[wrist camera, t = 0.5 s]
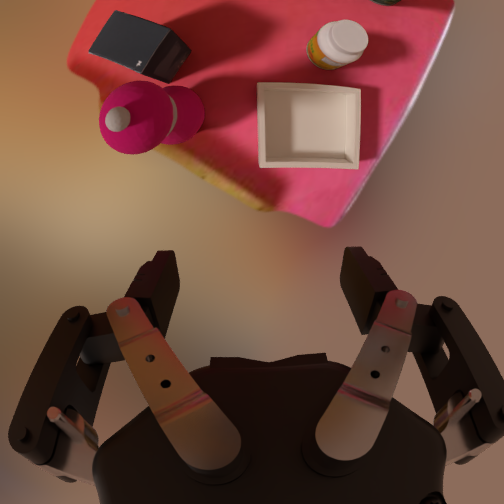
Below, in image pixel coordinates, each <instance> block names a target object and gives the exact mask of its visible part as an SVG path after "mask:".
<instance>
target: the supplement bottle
mask: <svg viewBox="0 0 504 504" xmlns="http://www.w3.org/2000/svg"><path fill="white" fill-rule="evenodd" d="M367 45H368V35H367V33H366V31H365V30H364V28H363V27H362V26H361V25H359V24H358V23H356V22H354V21H351V20H340V21H335V22H330V23H327V24H325V25H324V26H323V27H322V28H321V29H320V30H319V31H318V32H317V33H316V34H315V35H314V36H313V37H312V38H311V39H310V41H309V42H308V44H307V48H306V51H307V55H308V58H309V59H310V61H311V62H312V63H313V64H314V65H316V66H317V67H319V68H321V69H325V70H334V69H337V68H340V67H342V66H344V65H347V64H349V63H351V62H354V61H356V60H357V59H359V58H360V57H361V55H362V54H363V51H364V49H365V48H366V47H367Z"/></svg>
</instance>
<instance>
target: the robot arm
mask: <svg viewBox="0 0 504 504" xmlns="http://www.w3.org/2000/svg"><path fill="white" fill-rule="evenodd" d="M340 284H341V288H342V290H343V292H344V295H345V297H346V299H347V301H348V304H349V306H350V308H351V311H352V313H353V315H354V317H355V320H356V322H357V325H358V327H359V329H360V332H361V334H362V335H365V334H368V336H367V338H366V340H365V342H364V344H363V346H362V348H361V350H360V353H359V355H358V357H357V358H356V361H355V362H354V364H353V366H352V368H350V367H348V366H345V365H343V364H340V363H337V362H332V361H328V360H327V356H326V353H317V354H305V355H297V356H293V357H289V358H285V359H282V360H278V361H274V362H262V361H257V360H251V359H246V358H240V357H211V360H210V365H209V366H205V367H201V368H199V369H196V370H193V371H191V372H190V373H188V371H187V370H186V369H185V367H184V366H183V365H182V363H181V362H180V361H179V359H178V358H177V356H176V355H175V353H174V352H173V351H172V349H171V348H170V346H169V345H168V343H167V342H166V340H165V336H166V333H167V329H168V326H169V322H170V319H171V315H172V312H173V309H174V306H175V303H176V299H177V296H178V293H179V289H180V279H179V274H178V268H177V264H176V257H175V253H174V251H173V250H168V251H157V253H156V255H155V256H154V258H153V260H152V261H148V262H146V263H145V264H144V265H143V266H141V268H140V269H139V271H138V272H137V275H136V276H135V278H134V281H132V283H131V285H130V287H129V289H128V291H127V292H126V294H125V296H124V298H120V299H117V300H115V301H113V302H112V303H111V304H110V305H109V306H108V308H107V310H106V312H104V313H99V314H94V315H90V314H89V311H88V309H87V308H86V307H84V306H75V307H72V308H70V309H68V310H67V311H65V313H63V314H62V316H61V318H60V319H59V321H58V323H57V325H56V326H55V328H54V330H53V332H52V334H51V335H50V337H49V339H48V341H47V343H46V345H45V347H44V349H43V351H42V353H41V354H40V356H39V358H38V361H37V363H36V365H35V367H34V369H33V371H32V373H31V375H30V377H29V380H28V382H27V384H26V386H25V389H24V391H23V393H22V396H21V398H20V401H19V403H18V406H17V409H16V411H15V414H14V416H13V419H12V422H11V425H10V428H9V433H8V438H9V442H10V445H11V446H12V448H13V449H14V450H15V451H16V452H18V453H19V454H21V455H22V456H24V457H25V458H27V459H28V460H29V461H30V462H31V463H32V464H34V465H36V466H37V467H39V468H40V469H42V470H44V471H45V472H47V473H49V474H51V475H53V476H56V477H58V478H59V479H61V480H63V481H65V482H75V481H77V480H78V481H81V482H84V483H88V484H91V485H94V486H96V489H97V492H98V496H99V500H100V504H447V503H446V502H445V499H444V496H443V475H444V469H445V466H446V465H449V464H451V463H456V464H459V465H460V464H465V463H467V462H469V461H470V460H472V459H473V458H475V457H476V456H478V455H479V454H480V453H482V452H483V451H485V450H486V449H487V448H489V447H490V446H491V445H493V444H494V443H495V442H497V441H498V440H499V439H500V438H502V437H503V436H504V380H503V378H502V376H501V374H500V372H499V370H498V368H497V366H496V365H495V363H494V361H493V359H492V357H491V356H490V354H489V352H488V351H487V349H486V347H485V345H484V344H483V342H482V340H481V339H480V337H479V335H478V334H477V332H476V331H475V329H474V328H473V326H472V325H471V323H470V321H469V320H468V318H467V317H466V315H465V314H464V312H463V311H462V310H461V308H460V307H459V305H458V304H457V303H456V302H455V301H454V300H452V299H450V298H448V297H445V296H439V297H436V298H435V299H434V301H433V304H432V306H431V305H423V304H417V301H416V299H415V298H414V297H413V296H412V295H411V294H410V293H408V292H406V291H402V290H398V289H397V287H396V286H395V284H394V283H393V281H392V280H391V278H390V277H389V275H387V273H386V271H385V270H384V269H383V267H382V265H381V264H380V262H378V261H377V260H375V259H374V258H373V257H371V256H368V255H367V254H366V252H365V251H364V249H363V248H362V247H346V248H345V250H344V256H343V262H342V267H341V273H340ZM444 342H445V344H446V346H447V347H448V349H449V352H450V358H449V360H448V358H447V356H446V354H445V352H444V350H443V348H442V346H443V344H444ZM407 352H413V355H414V357H415V359H416V362H417V364H418V367H419V369H420V372H421V374H422V377H423V379H424V381H425V384H426V387H427V389H428V392H429V395H430V398H431V400H432V403H433V406H434V408H435V412H436V415H435V417H434V426H433V425H432V424H430V423H429V422H427V421H426V420H424V419H423V418H421V417H420V416H418V415H417V414H416V413H414V412H413V411H411V410H410V409H408V408H407V407H405V406H404V405H403V404H401V403H400V402H398V401H397V400H396V399H394V398H393V397H392V396H393V393H394V390H395V388H396V385H397V382H398V379H399V376H400V373H401V371H402V367H403V364H404V361H405V358H406V355H407ZM79 356H80V358H79ZM78 358H79V361H78V363H77V360H78ZM122 360H126V362H127V365H128V366H129V369H130V371H131V373H132V375H133V377H134V379H135V381H136V383H137V385H138V387H139V388H140V390H141V392H142V394H143V396H144V398H145V400H146V401H147V403H148V405H149V406H148V407H147V408H146V409H144V410H143V411H142V412H141V413H139V414H138V415H137V416H136V417H135V418H134V419H132V420H131V421H130V422H129V423H127V424H126V425H125V426H124V427H122V428H121V429H120V430H119V431H117V432H116V433H115V434H114V435H112V436H111V437H110V438H109V439H107V440H106V441H105V442H104V443H103V444H102V445H101V446H100V447H99V446H98V434H97V432H96V430H95V429H94V428H93V423H94V418H95V414H96V411H97V407H98V404H99V400H100V397H101V393H102V389H103V386H104V383H105V380H106V376H107V373H108V370H109V367H110V364H111V362H116V361H122ZM76 363H77V366H76Z"/></svg>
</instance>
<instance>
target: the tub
mask: <svg viewBox="0 0 504 504" xmlns="http://www.w3.org/2000/svg"><path fill="white" fill-rule="evenodd" d="M256 88H257V121H258V159H259V166H260V168H275V167H306V168H342V169H358V167H359V150H360V125H361V89H357V88H350V87H341V86H332V85H321V84H307V83H283V82H257V86H256Z"/></svg>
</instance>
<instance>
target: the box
mask: <svg viewBox="0 0 504 504" xmlns="http://www.w3.org/2000/svg"><path fill="white" fill-rule="evenodd" d="M89 53H90V54H93V55H97V56H100V57H102V58H105V59H108V60H110V61H113V62H115V63H118V64H120V65H122V66H125V67H127V68H129V69H131V70H134V71H136V72H137V73H140V74H142V75H145V76H148V77H151V78H154V79H157V80H160V81H162V82H165V83H168V84H169V83H170V82H171V80H172V79H173V77H174V76H175V74H176V73H177V71H178V70H179V68H180V67H181V65H182V64H183V62H184V61H185V60H186V58H187V57H188V55H189V54H190V53H191V49H190V48H189V47H188V46H187V45H186V44H185V43H184V42H183V41H182V40H181V39H180V38H179V37H178V36H177V34H175V33H174V31H172V30H171V29H170V28H168V27H165V26H163V25H160V24H157V23H154V22H152V21H149V20H146V19H143V18H140V17H137V16H134V15H130V14H127V13H124V12H120V11H117V10H115V11H114V12H113V14H112V15H111V17H110V18H109V19H108V21H107V22H106V24H105V25H104V27H103V28H102V30H101V32H100V33H99V35H98V36H97V38H96V40H95V41H94V43H93V44H92V46H91V48H90V49H89Z"/></svg>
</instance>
